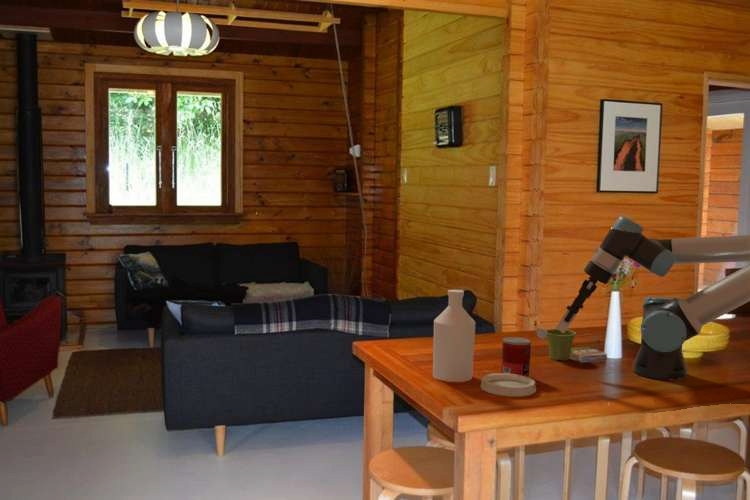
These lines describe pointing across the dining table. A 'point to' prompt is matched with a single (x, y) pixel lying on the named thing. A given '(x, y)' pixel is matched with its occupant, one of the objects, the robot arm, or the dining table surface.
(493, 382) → the dish
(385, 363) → the dining table surface
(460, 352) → the bottle
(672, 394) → the dining table surface
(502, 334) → the dining table surface
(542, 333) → the eyeglasses
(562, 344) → the plant pot
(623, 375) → the dining table surface
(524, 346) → the canned food
